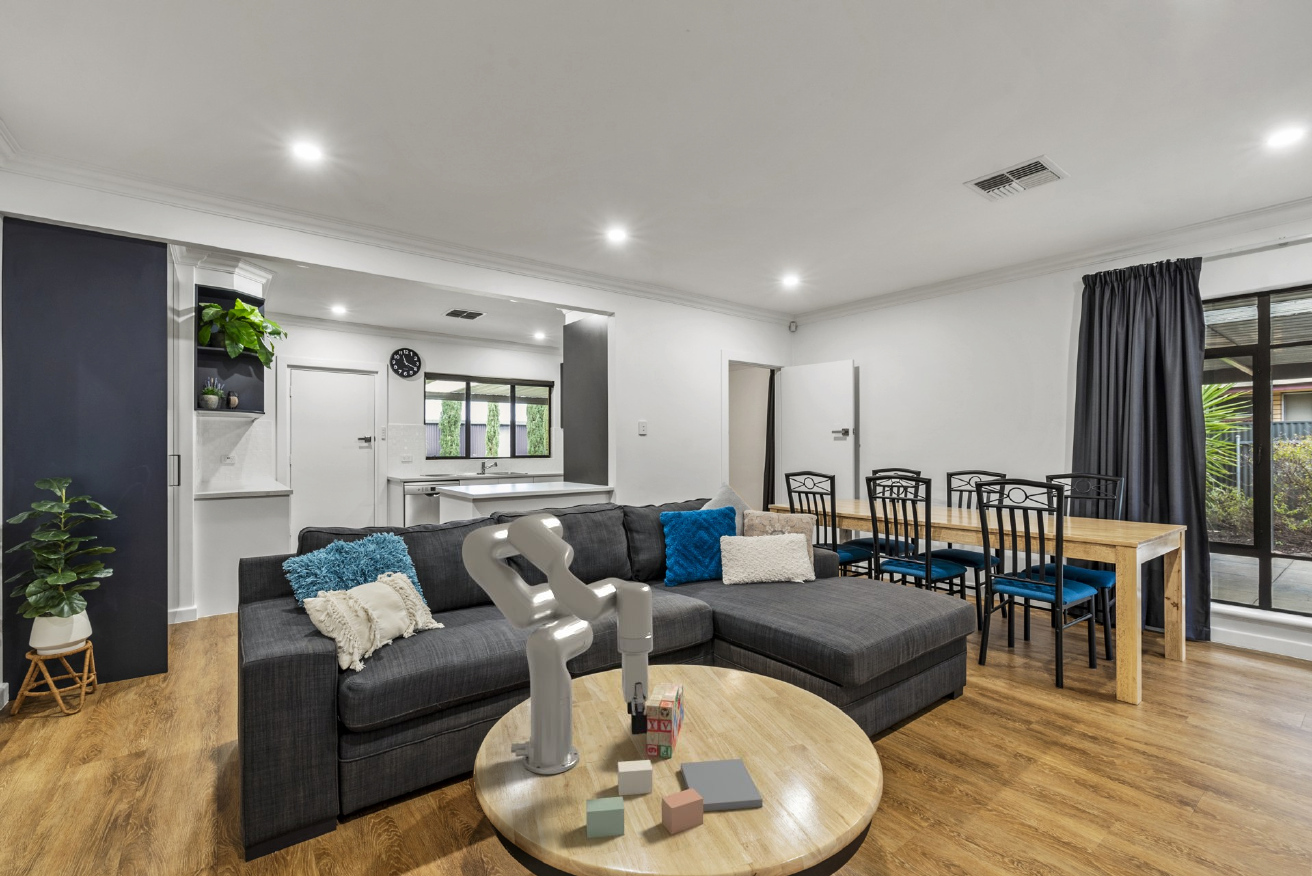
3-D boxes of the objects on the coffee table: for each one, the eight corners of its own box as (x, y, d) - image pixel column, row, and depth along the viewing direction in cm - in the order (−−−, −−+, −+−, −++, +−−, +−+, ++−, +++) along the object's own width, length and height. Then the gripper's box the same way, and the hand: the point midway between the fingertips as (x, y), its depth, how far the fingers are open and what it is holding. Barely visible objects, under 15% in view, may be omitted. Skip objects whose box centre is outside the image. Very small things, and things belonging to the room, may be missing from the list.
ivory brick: (619, 795, 130) (619, 771, 130) (617, 785, 134) (617, 761, 134) (652, 793, 131) (652, 769, 131) (650, 782, 135) (650, 759, 135)
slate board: (694, 812, 124) (694, 804, 124) (680, 769, 140) (680, 763, 140) (762, 806, 126) (762, 799, 126) (741, 765, 142) (741, 758, 142)
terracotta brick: (671, 834, 117) (671, 808, 117) (661, 823, 121) (661, 797, 121) (703, 824, 120) (703, 798, 120) (692, 812, 124) (692, 787, 124)
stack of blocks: (660, 716, 167) (660, 670, 167) (684, 718, 166) (684, 672, 166) (645, 756, 146) (645, 704, 146) (672, 759, 145) (672, 706, 145)
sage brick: (586, 838, 116) (586, 811, 116) (586, 825, 120) (586, 799, 120) (624, 835, 117) (624, 808, 117) (622, 822, 121) (622, 796, 121)
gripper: (614, 631, 140) (616, 707, 140) (620, 657, 123) (622, 743, 123) (647, 629, 141) (649, 704, 141) (658, 654, 124) (660, 740, 124)
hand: (637, 723), depth 132 cm, fingers open, 9 cm apart
